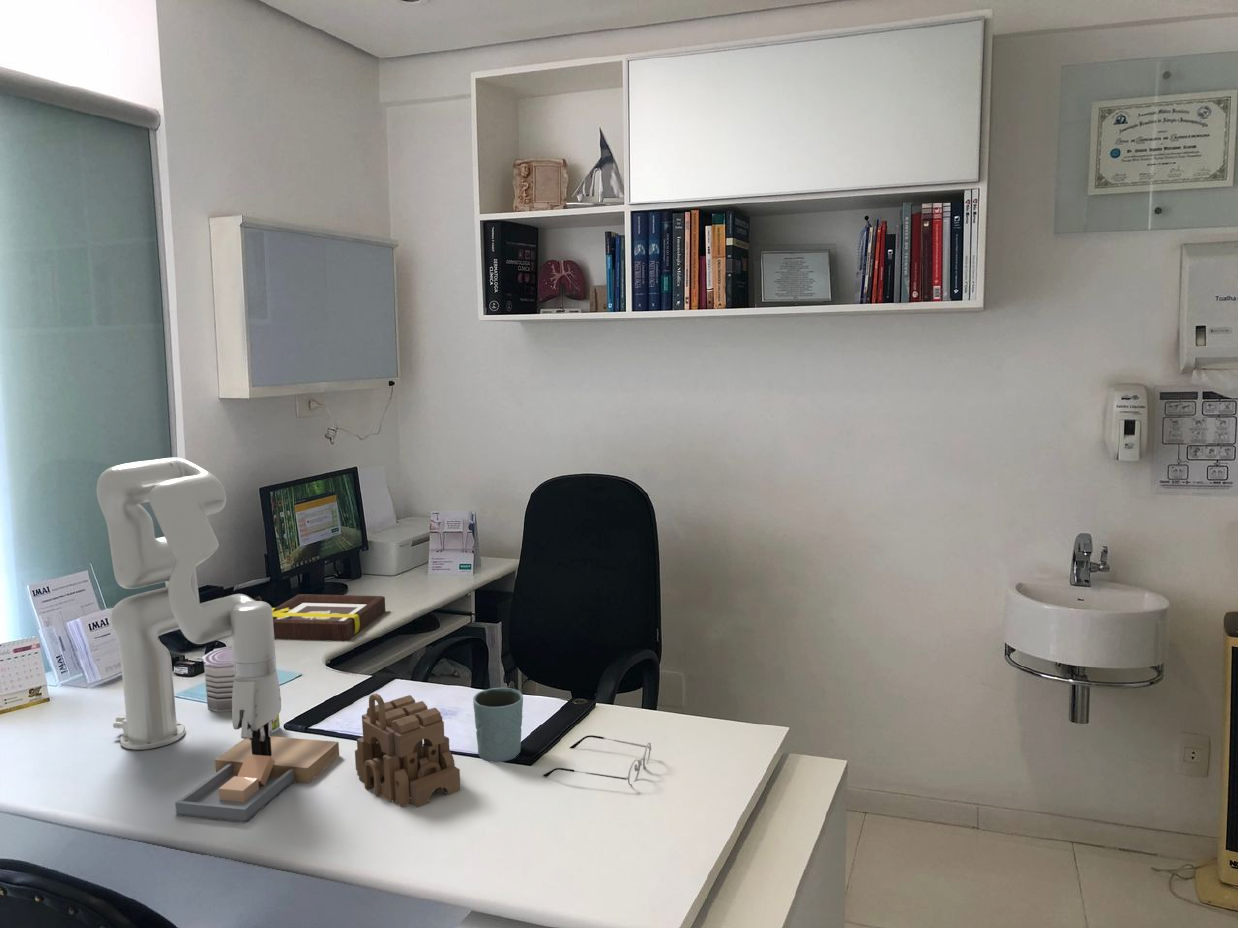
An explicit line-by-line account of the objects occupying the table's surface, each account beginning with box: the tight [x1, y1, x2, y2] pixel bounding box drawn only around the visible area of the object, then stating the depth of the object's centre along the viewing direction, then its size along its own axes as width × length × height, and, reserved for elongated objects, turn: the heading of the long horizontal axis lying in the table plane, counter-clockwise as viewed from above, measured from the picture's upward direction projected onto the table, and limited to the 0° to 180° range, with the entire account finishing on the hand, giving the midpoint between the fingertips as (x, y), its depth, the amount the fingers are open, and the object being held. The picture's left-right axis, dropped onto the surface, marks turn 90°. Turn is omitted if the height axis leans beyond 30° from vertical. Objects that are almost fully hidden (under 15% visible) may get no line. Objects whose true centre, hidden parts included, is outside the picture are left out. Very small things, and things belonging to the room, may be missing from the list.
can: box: [201, 645, 236, 713], centre depth 228 cm, size 11×11×12 cm
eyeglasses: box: [542, 735, 652, 786], centre depth 191 cm, size 16×19×5 cm
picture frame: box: [271, 593, 386, 642], centre depth 288 cm, size 28×7×30 cm
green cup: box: [472, 687, 524, 763], centre depth 198 cm, size 10×10×12 cm
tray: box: [174, 764, 296, 824], centre depth 182 cm, size 14×16×2 cm
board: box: [214, 735, 340, 784], centre depth 195 cm, size 20×12×3 cm, turn 78°
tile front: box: [219, 776, 259, 802], centre depth 182 cm, size 5×5×2 cm
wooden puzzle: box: [354, 693, 461, 808], centre depth 187 cm, size 22×15×19 cm, turn 43°
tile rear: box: [237, 754, 275, 786], centre depth 187 cm, size 5×5×2 cm
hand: (262, 757), depth 190 cm, fingers closed
